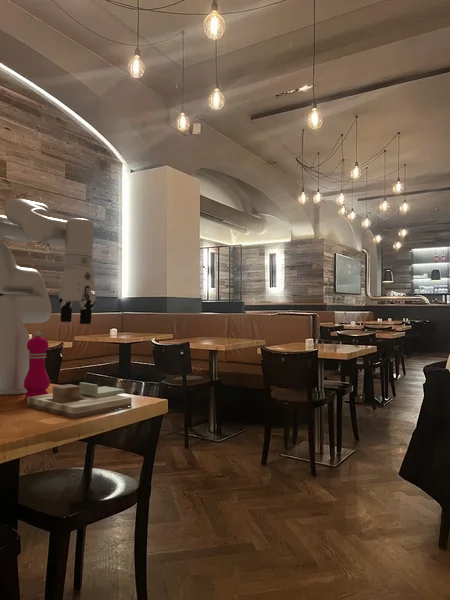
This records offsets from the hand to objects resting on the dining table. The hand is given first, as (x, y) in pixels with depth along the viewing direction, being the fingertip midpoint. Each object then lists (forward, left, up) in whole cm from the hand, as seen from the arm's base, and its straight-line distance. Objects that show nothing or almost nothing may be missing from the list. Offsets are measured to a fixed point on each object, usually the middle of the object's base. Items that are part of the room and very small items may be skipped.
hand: (75, 322), depth 129 cm
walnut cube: (+4, -5, -22) cm, 23 cm away
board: (+4, -1, -23) cm, 23 cm away
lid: (+4, +6, -20) cm, 22 cm away
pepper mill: (-16, -2, -23) cm, 28 cm away
